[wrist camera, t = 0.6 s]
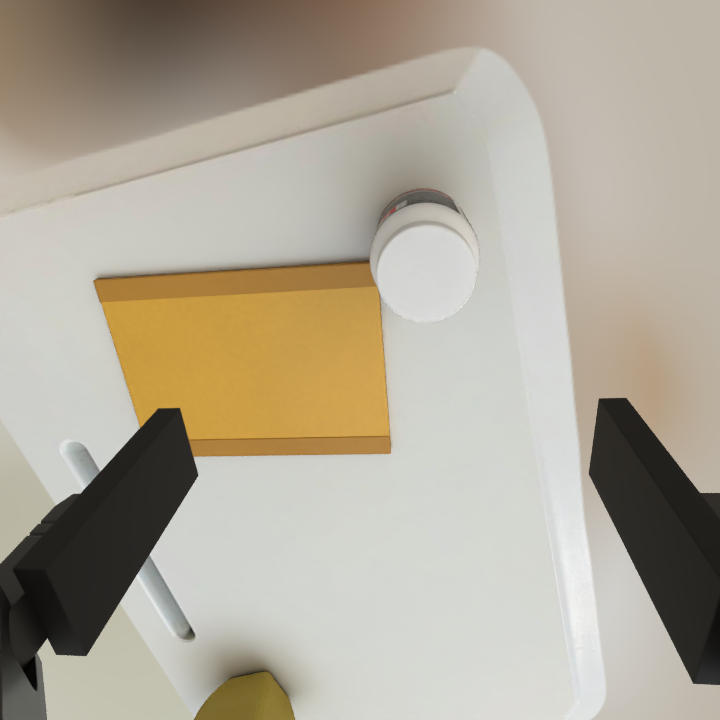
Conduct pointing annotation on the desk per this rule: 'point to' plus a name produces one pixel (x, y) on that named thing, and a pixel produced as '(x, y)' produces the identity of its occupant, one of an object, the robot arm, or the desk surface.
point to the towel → (257, 357)
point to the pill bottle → (424, 256)
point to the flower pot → (247, 700)
